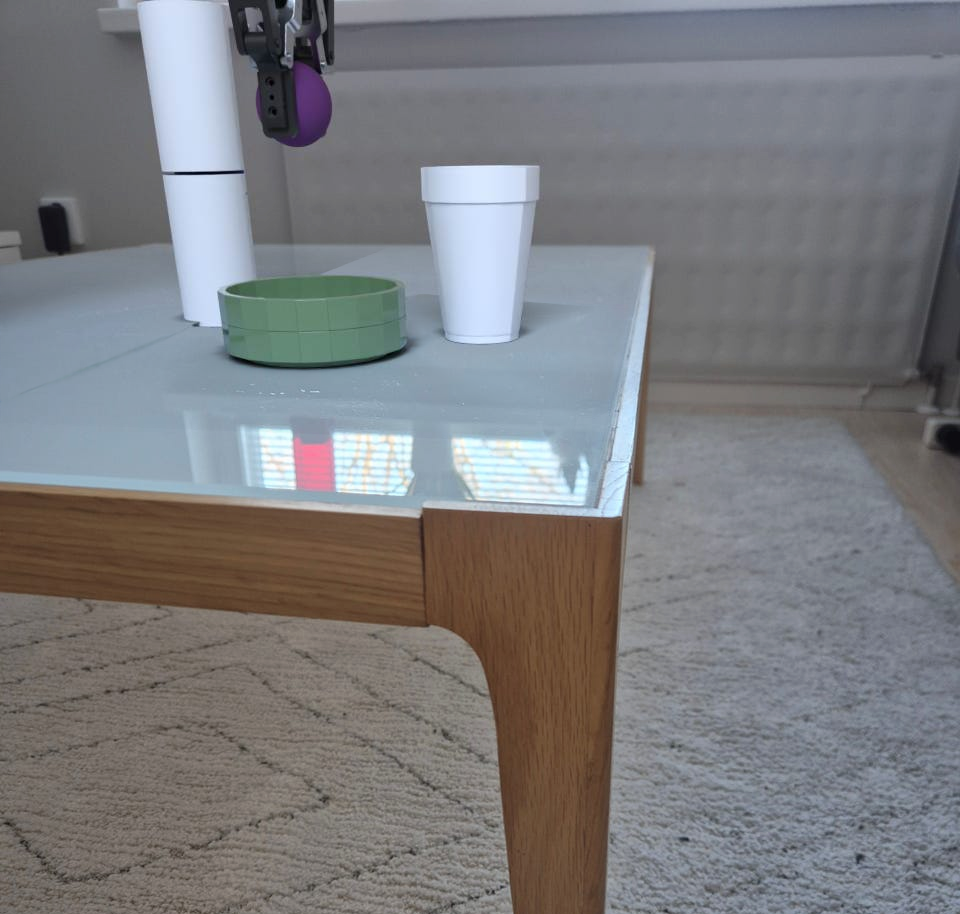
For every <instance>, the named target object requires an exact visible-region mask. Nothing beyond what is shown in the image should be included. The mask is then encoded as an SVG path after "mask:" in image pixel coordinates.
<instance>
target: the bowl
mask: <svg viewBox="0 0 960 914" xmlns="http://www.w3.org/2000/svg"><path fill="white" fill-rule="evenodd" d="M405 287H406V286H405V284H404V283H403V281H401V280H397V279H394V278H390V277H381V276H375V275H357V274H310V275H309V274H308V275H306V274H305V275H290V276H273V277H266V278H257V279H255V280H248V281H243V282H237V283H232V284H229V285H226V286H223V287H220V288H219V290H218V291H217V293H218V301H219V308H220V316H221V321H222V322H221V323H222V327H221V330H222V337H223V345H224V351H225V352H227V353H228V354H229V355H231V356H232V357H236V358H239V359H244V360H247V361H249V362H251V363H254V364H257V365H263V366H270V367H279V368H304V369H305V368H328V367H340V366H348V365H355V364H361V363H366V362H370V361H374V360H378V359H381V358H383V357H385V356H387V355H388V354H389V353H392V352H396V351H399V350H401V349H403V348H404V347H405V346H406V345H407V344H408V330H407V329H408V328H407V315H406V314H407V308H406V307H407V305H406V288H405Z"/></svg>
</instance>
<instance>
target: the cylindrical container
mask: <svg viewBox="0 0 960 914" xmlns="http://www.w3.org/2000/svg"><path fill="white" fill-rule="evenodd" d="M136 11H137V19H138V24H139V30H140V37H141V44H142V50H143V57H144V63H145V70H146V77H147V84H148V89H149V96H150V102H151V109H152V116H153V121H154V128H155V135H156V142H157V149H158V156H159V161H160V162H159V163H160V169H161V172H170V173H166V174H162V181H163V187H164V188H163V189H164V194H165V201H166V208H167V214H168V220H169V221H168V222H169V227H170V233H171V234H170V235H171V240H172V247H173V253H174V260H175V267H176V273H177V280H178V287H179V293H180V294H179V295H180V298H181V300H180V301H181V307H182V313H183V318H184V320H186V321H190V322H196V323H193V324H191V326H192V327H202V328H203V327H205V328H219V327H221V328H222V323H221V322H222V321H221V316H220V308H219V301H218V293H217V291H218V290H219V288H220V287H223V286H226V285H229V284H232V283H237V282H243V281H248V280H255V279H258V273H257V265H256V255H255V249H254V237H253V232H252V222H251V213H250V204H249V195H248V194H246V193H247V192H248V187H247V178H246V170H245V161H244V152H243V145H242V144H243V143H242V135H241V126H240V117H239V108H238V99H237V91H236V84H235V73H234V67H233V57H232V48H231V40H230V32H229V22H228V15H227V5H225V4H223V3H221V2H214V1H207V0H206V1H205V0H145V1H140V2H137V3H136ZM172 172H173V173H172Z"/></svg>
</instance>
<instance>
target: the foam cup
mask: <svg viewBox="0 0 960 914" xmlns="http://www.w3.org/2000/svg"><path fill="white" fill-rule="evenodd" d="M540 169H541V167H540V165H515V164H513V165H506V164H505V165H503V164H502V165H501V164H500V165H492V164H491V165H490V164H489V165H443V166H441V165H440V166H439V165H438V166H422V167H420V179H421V180H420V181H421V183H420V185H421V186H420V187H421V201H422V202H424V206H425V215H426V221H427V227H428V233H429V240H430V241H429V242H430V247H431V253H432V260H433V267H434V273H435V274H434V275H435V281H436V288H437V294H438V300H439V306H440V311H441V312H440V314H441V320H442V327H443V331H444V338H445V339H446V340H448V341H450V342H453V343H459V344H470V345H471V344H473V345H489V344H492V345H493V344H502V343H508V342H513V341H515V340H518V339H519V336H520V329H521V324H522V316H523V307H524V300H525V293H526V286H527V285H526V283H527V276H528V269H529V261H530V255H531V254H530V253H531V245H532V240H533V239H532V238H533V231H534V222H535V215H536V208H537V201H539V200H540V183H541V181H540V179H541V178H540V174H541V172H540V171H541V170H540Z"/></svg>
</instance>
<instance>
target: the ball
mask: <svg viewBox="0 0 960 914" xmlns="http://www.w3.org/2000/svg"><path fill="white" fill-rule="evenodd" d="M287 71H292V72H294V79H295V91H296V102H297V114H298V126H299V133H298V135H297V136H296V137H295V138H273V139H274V140H275V141H276V142H278V143H280V144H282V145H284V146H287V147H292V148H304V147H309V146H311V145H313V144H314V143H317V141H319V140H320V139H322V138H323V137H322V136H323V135H324V133H325V132H326V133H327V130H328V128H329V126H330V123H331V120H332V116H333V101H332V96H331V92H330V90H329V87H328V85H327V83H326V81H325V80H324V78H323V79H322V77H323V76H322V75H321V76H322V77H321V76H320V75H319V74H318V73H317V72H316V71H315V70H314V69H312V68H311V67H309V66H308V65H306V64H303V63H301V62H297V61H293V66H292V68H291V69H287ZM255 108H256V114H257V116H258V119H259V121H260V123H261V124H262V117H261V107H260V97H259V87H258V86H257V87H256V92H255ZM321 137H322V138H321Z"/></svg>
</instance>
